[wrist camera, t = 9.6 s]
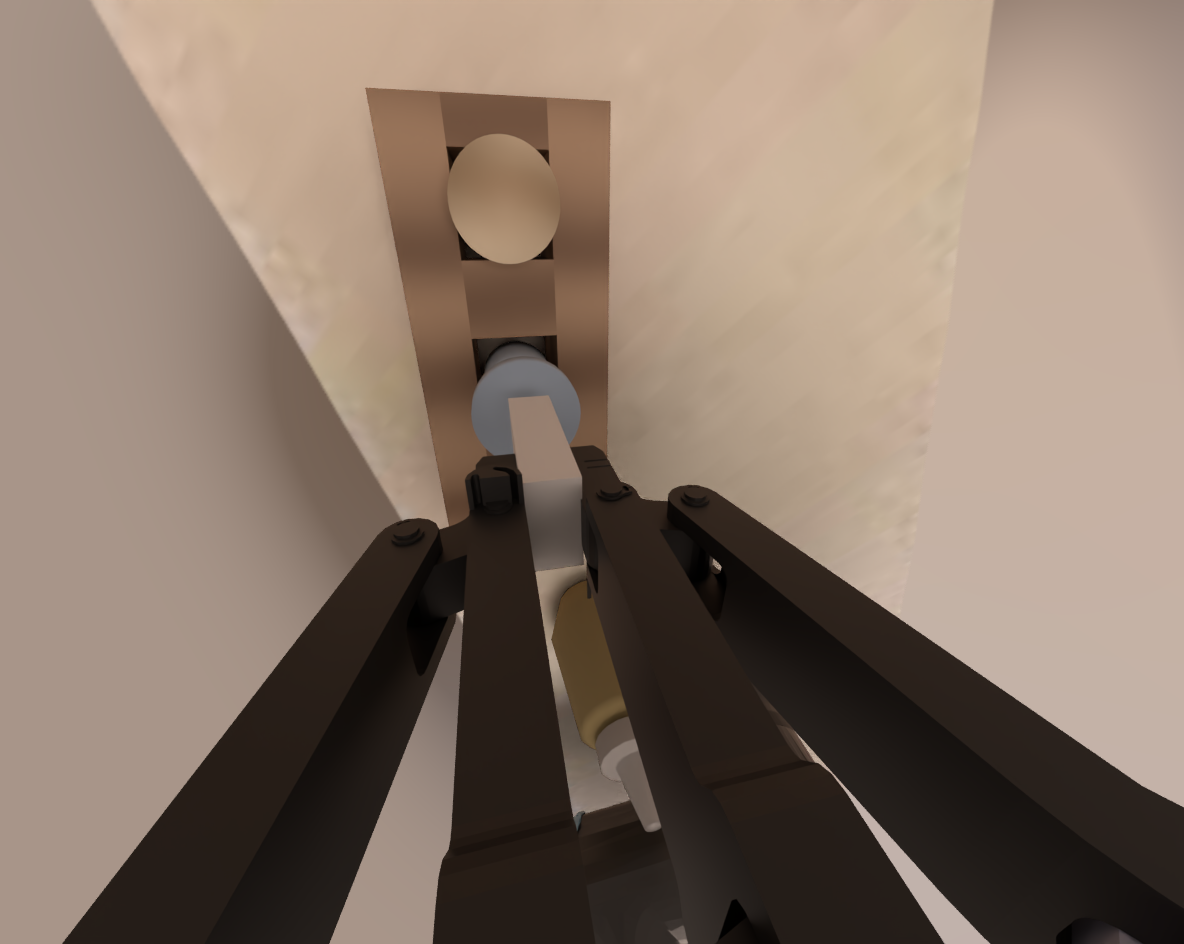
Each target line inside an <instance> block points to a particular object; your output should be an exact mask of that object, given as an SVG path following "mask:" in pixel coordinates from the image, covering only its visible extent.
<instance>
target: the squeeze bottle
mask: <svg viewBox="0 0 1184 944" xmlns="http://www.w3.org/2000/svg"><path fill="white" fill-rule="evenodd" d="M551 640H552V643H553V646H554V650H555V653H556V656H557V660H558V663H559V667H560V670H561V673H562V677H563V680H564V684H565V687H566V690H567V694H568V697H569V700H570V704H571V707H572V711H573V714H574V717H575V721H576V724H577V728H578V731H579V734H580V737H581V741H583V742H584V743H585V744H586V745H588V746H589V747H590V748H593V749H595V750H596V751H597V755H598V760H599V765H600V769H601V772H602V774H603V775H604V776H606V777H607V778H608V779H610V780H614V781H620V782H622V783H623V785H624V787H625V789H626V791H627V793H628V796H629V798H630V800H631V802H632V804H633V806H634V808H635V810H636V812H637V815H638V817H639V819H640V821H641V823H642V825H643V827H644V829H645V831H647V832H654V831H656V830H658V829H660V828H661V824H660V821H659V817H658V814H657V811H656V807H655V804H654V801H653V797H652V794H651V790H650V787H649V784H648V780H647V777H646V774H645V770H644V767H643V764H642V760H641V757H640V754H639V750H638V747H637V743H636V740H635V737H634V733H633V730H632V727H631V723H630V720H629V717H628V713H627V710H626V706H625V703H624V700H623V696H622V693H621V690H620V686H619V683H618V680H617V676H616V673H615V669H614V666H613V663H612V659H611V656H610V653H609V649H608V646H607V643H606V639H605V636H604V632H603V629H602V626H601V622H600V619H599V616H598V612H597V609H596V606H595V602H594V599H593V595H591V598H590V599H587V580H586V581H583V582H579V583H577V584H576V585H574V586H573V587H571V588H569V589H568V590H567V591H566V593H565V594H564V595H563V597H562V598H561V600H560V604H559V608H558V613H557V617H556V622H555V626H554V630H553V635H552V639H551Z"/></svg>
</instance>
